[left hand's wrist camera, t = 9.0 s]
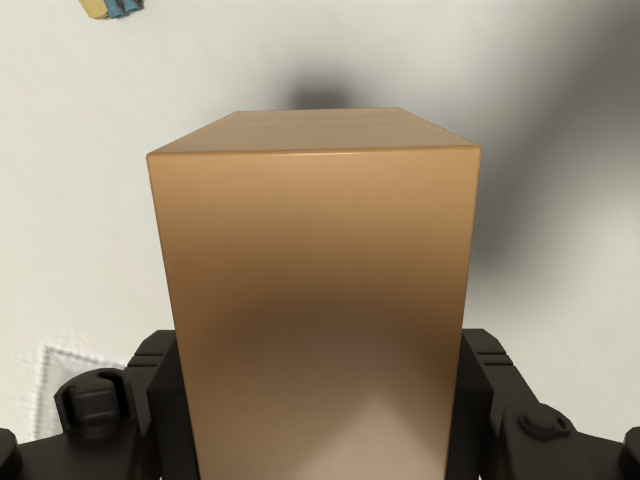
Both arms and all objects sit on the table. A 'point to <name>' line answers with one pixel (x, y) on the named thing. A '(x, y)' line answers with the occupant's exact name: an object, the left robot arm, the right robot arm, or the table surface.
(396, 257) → the bar
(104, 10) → the toy gun
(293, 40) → the table surface
